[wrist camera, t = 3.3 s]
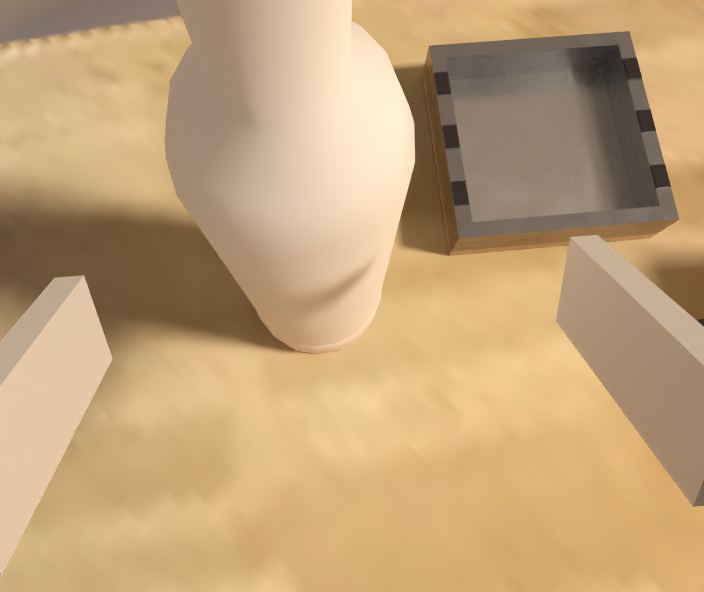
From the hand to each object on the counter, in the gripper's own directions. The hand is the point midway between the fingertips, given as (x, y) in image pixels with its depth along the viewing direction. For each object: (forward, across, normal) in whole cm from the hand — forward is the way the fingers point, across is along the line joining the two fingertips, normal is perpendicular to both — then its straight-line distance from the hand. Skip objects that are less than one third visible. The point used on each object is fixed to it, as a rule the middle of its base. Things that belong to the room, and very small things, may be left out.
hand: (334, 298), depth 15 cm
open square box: (+24, +15, -4) cm, 29 cm away
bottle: (+18, -1, -10) cm, 21 cm away
